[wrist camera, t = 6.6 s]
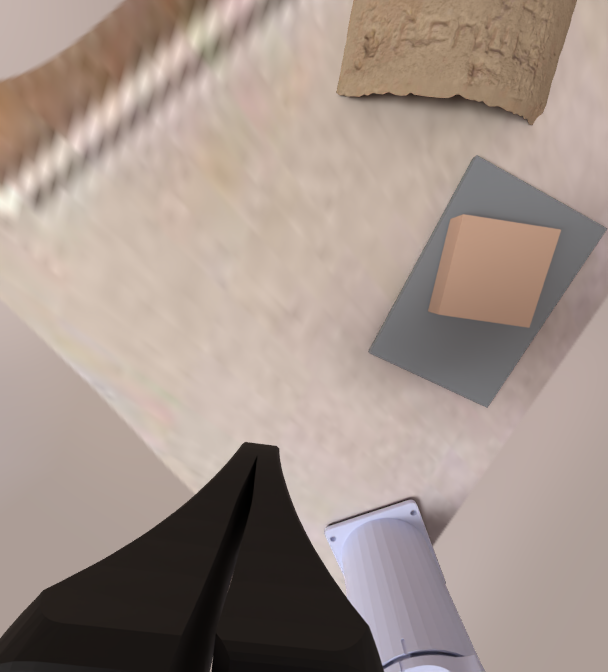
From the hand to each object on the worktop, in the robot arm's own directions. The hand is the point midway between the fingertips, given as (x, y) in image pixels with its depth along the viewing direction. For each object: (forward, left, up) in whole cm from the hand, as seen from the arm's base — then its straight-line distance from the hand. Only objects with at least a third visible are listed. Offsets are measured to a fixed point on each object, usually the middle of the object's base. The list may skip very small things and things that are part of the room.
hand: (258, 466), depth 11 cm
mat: (0, -15, -10) cm, 18 cm away
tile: (+3, -13, -9) cm, 16 cm away
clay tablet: (+16, -18, -11) cm, 27 cm away
